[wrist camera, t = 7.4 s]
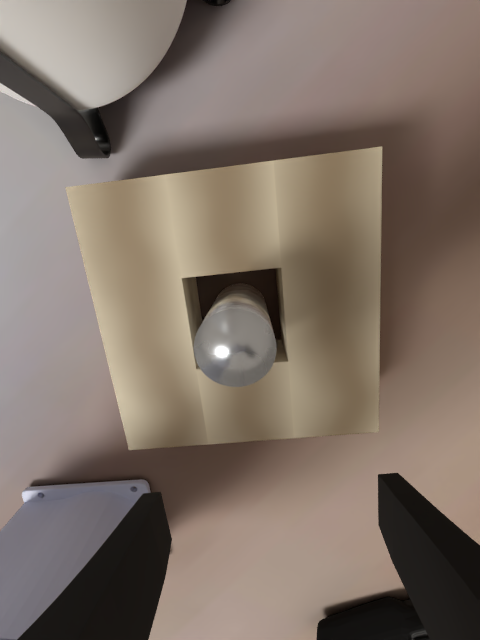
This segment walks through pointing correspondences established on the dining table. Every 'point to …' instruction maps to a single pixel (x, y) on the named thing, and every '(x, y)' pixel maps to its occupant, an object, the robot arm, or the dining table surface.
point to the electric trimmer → (374, 622)
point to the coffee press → (83, 57)
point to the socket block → (229, 257)
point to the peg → (236, 338)
